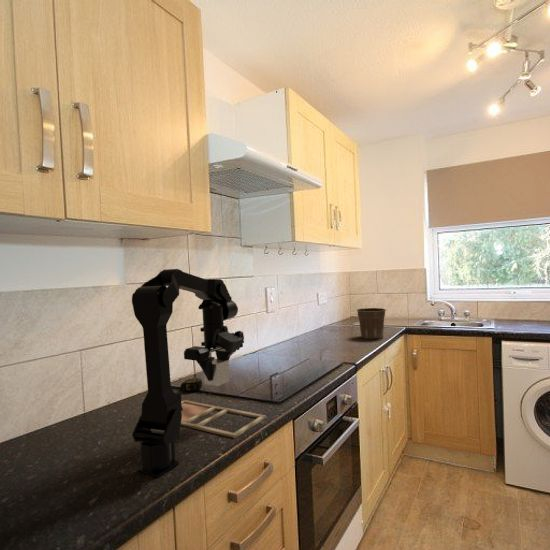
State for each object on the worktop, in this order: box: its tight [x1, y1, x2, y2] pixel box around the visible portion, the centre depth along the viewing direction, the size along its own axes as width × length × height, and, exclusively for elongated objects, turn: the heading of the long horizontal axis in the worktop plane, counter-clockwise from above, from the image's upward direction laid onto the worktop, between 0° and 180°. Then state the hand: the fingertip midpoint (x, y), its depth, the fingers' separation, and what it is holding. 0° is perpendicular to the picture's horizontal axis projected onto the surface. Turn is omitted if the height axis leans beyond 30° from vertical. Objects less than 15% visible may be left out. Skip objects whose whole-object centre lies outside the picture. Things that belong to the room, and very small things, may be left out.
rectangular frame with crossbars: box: [181, 399, 267, 439], centre depth 111 cm, size 14×32×1 cm, turn 58°
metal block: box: [203, 358, 230, 387], centre depth 108 cm, size 5×5×6 cm
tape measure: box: [179, 377, 203, 392], centre depth 138 cm, size 7×7×4 cm
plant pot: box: [356, 307, 387, 340], centre depth 217 cm, size 16×16×16 cm
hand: (216, 378), depth 108 cm, fingers closed on metal block, 5 cm apart
